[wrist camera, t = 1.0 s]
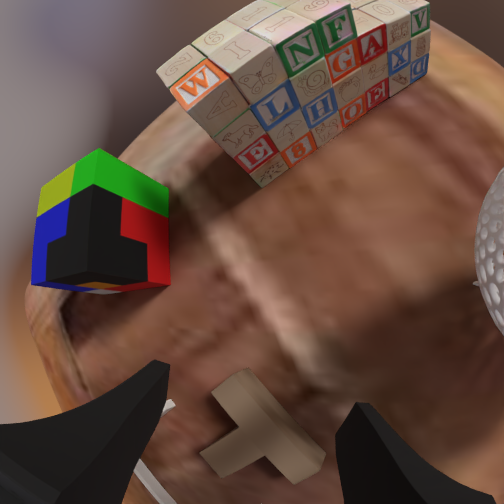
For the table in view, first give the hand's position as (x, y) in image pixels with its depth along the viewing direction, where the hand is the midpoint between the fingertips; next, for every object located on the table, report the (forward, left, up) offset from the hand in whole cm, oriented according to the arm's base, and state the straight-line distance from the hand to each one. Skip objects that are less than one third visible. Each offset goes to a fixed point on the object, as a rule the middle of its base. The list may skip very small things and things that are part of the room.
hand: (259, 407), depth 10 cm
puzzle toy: (+20, +7, -12) cm, 25 cm away
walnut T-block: (-2, +9, -12) cm, 15 cm away
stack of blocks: (+14, -17, -12) cm, 26 cm away
